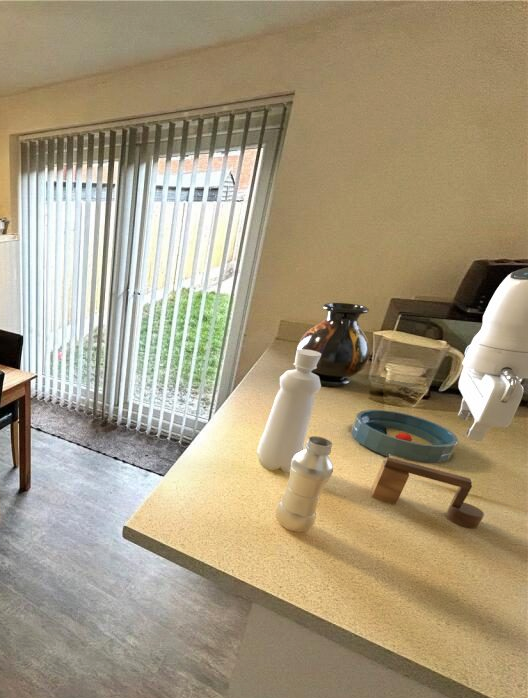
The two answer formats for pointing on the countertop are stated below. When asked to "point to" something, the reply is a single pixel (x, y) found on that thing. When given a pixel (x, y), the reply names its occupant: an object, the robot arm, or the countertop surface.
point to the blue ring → (374, 436)
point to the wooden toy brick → (389, 484)
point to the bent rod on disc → (457, 509)
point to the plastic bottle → (305, 485)
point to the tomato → (404, 437)
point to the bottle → (290, 413)
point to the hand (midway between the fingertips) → (468, 428)
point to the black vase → (338, 344)
